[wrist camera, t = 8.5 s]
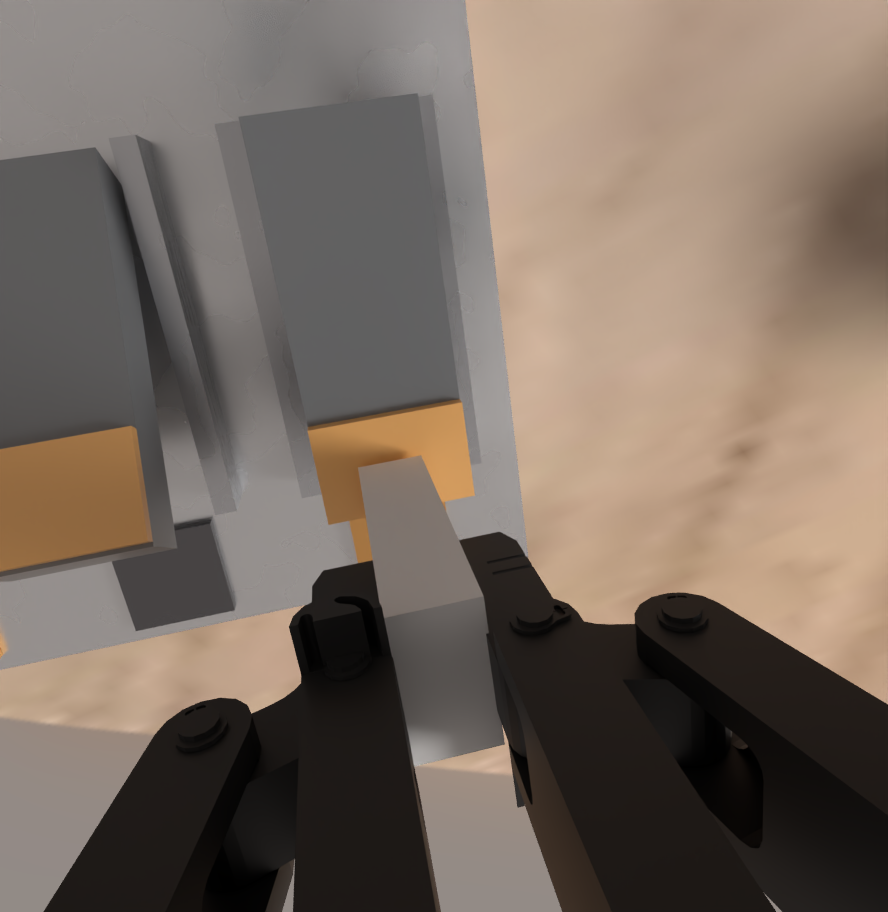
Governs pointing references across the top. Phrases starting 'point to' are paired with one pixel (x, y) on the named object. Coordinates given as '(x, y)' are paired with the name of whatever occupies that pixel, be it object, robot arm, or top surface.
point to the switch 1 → (73, 375)
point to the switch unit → (243, 284)
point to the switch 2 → (361, 290)
